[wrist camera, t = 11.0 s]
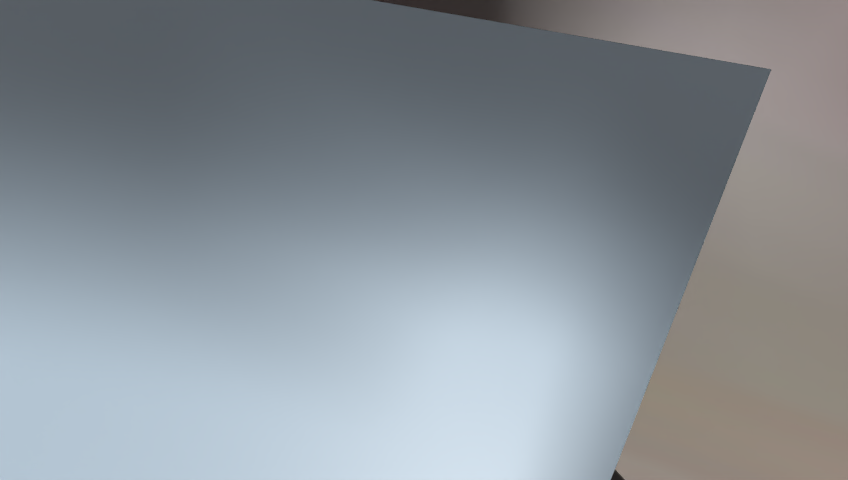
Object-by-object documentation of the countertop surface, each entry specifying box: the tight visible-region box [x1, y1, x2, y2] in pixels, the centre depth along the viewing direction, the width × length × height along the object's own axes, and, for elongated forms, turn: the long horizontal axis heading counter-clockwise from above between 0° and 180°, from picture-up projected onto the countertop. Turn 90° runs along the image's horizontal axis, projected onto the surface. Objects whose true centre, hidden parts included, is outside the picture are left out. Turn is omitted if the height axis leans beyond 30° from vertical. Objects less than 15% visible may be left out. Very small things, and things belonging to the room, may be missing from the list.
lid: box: [0, 0, 771, 480], centre depth 6 cm, size 11×7×2 cm, turn 171°
